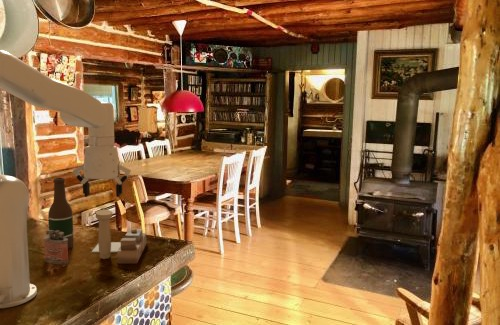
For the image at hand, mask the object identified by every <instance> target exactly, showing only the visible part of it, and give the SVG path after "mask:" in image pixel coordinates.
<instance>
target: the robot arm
mask: <svg viewBox="0 0 500 325" xmlns="http://www.w3.org/2000/svg"><path fill="white" fill-rule="evenodd" d="M0 89H1V90H2V91H4V92H6V93H7V94H9V95H10V94H11V95H12V96H14V97H16V98H18V99H20V100H22V101H23V102H25V103H28V104H29V105H31V106H35V107H37V108H41V109H46V110H51V111H57V112H59V118H60V120H61V121H62V122H63V123H64V124H65V125H68V126H70V127H76V128H87V129H88V131H87V132H88V136H87V137H83V143H87V145H88V146H85V150H84V159H83V165H81V166H79V167H77V168H74V169H73V171H72V172H73V174H74V175H75V176H76V179H77V180H78V181H79V182H80V183H81V184H82V193H83V194H84V197H85V198H87V197H89V196H90V194H91V193H90V191H91V190H90V188H91V186H90V182H89V181H90V180H114V181H115V182H116V185H115V194H116V195H115V196H116V197H117V198H119V197H120V196H121V194H123V183H124V182H125V181H126V180H127V179H128V178H129V176H130V174H131V171H132V170H131V169H130V168H129V167H127V166H124V165H121V164H120V158H119V157H120V156H119V152H118V147H117V145H115V122H114V121H115V117H114V116H115V112H114V105H113V104H112V103H111V102H108V101H107V102H106V101H100V100H99V99H98V98H96V97H94V96H92V95H91V94H89V93H88V92H85V91H84V90H82V89H79V88H77V87H74V86H72V85H69V84H66V83H65V82H63V81H60V80H58V79H54V78H52V77H49V76H48V75H46V74H44V73H42V72H41V71H39V70H38V69H37V68H35V67H33V66H31V65H30V64H28V63H26V62H25V61H23V60H21V59H20V58H19V57H17V56H15V55H14V54H11V53H9V52H8V51H5V50H3V49H0ZM1 163H2V162H1V160H0V166H1ZM81 171H83V175H82V174H81ZM121 171H122V172H124V175H123V176H122V177H121V176H120V173H121ZM29 205H30V191H29V188H28V187H27V185H26V183H24V181H23V180H21V179H19V178H18V177H16V176H12V175H8V174H1V173H0V309H7V308H13V307H16V306H20V305H23V304H25V303H27V302H29V301H30V300H32V299H33V298H35V296H36V295H37V294H38V288H37V286H36V285H35V284H33V283H31V282H30V281H31V280H30V279H31V278H30V263H29V262H30V260H29V245H28V243H29V242H28V227H27V226H28V224H27V222H28V220H27V219H28V208H29Z"/></svg>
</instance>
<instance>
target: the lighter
mask: <svg viewBox="0 0 500 325" xmlns="http://www.w3.org/2000/svg"><path fill="white" fill-rule="evenodd" d="M45 235H46V236H44V237H43V241H44V262H46V263H49V264H54V265H66V264H68V263H70V259H69V253H68V250H69V249H68V244H67V242H68V239H67V238H63V237H64V232H60V231H59V230H56V231H54V230H49V229H47V230H46V231H45ZM49 235H50V236H49Z"/></svg>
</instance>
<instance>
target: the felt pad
mask: <svg viewBox="0 0 500 325" xmlns="http://www.w3.org/2000/svg"><path fill="white" fill-rule="evenodd" d="M120 246H121V241H118V242H117V241H116V242H115V241H111V252H110V253H116V254H117V251H118V249H119V248H120ZM91 253H92V254H93V253H94V254H98V253H99V245H98V243H97V244H96V245H95V246H94V248H93V249H92V251H91ZM99 254H100V253H99Z"/></svg>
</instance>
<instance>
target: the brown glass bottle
mask: <svg viewBox="0 0 500 325" xmlns="http://www.w3.org/2000/svg"><path fill="white" fill-rule="evenodd" d="M52 182H53V183H54V184H53V202H52V203H51V205H50V207H49V210H48V213H47V214H48V221H47V222H48V230H54V231H56V230H59V231H60V232H64V237H63V238H67V239H68V242H67V244H68V250H69V249H72V248H73V247H74V215H73V208H72V206H71V204H70V203H69V202H68V199H67V195H66V187H65V186H66V185H65V184H66V183H65V182H66V179H65V178H64V177H55V178H53V180H52ZM48 236H50V235H48Z"/></svg>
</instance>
